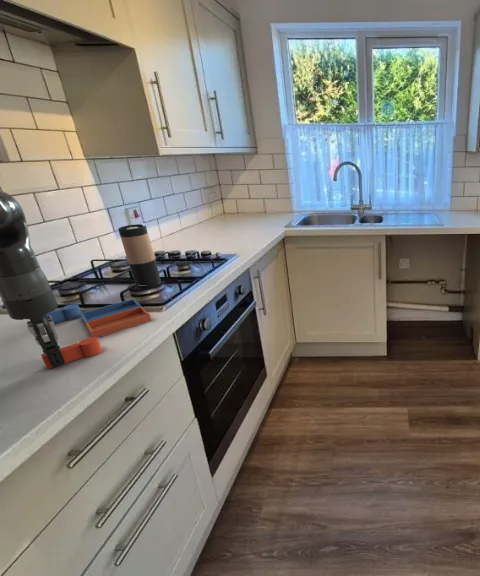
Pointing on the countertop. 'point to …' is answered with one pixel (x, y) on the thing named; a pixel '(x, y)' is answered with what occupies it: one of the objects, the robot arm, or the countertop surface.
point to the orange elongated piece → (77, 351)
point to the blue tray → (109, 310)
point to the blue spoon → (65, 313)
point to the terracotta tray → (117, 321)
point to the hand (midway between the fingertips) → (58, 362)
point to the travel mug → (140, 255)
